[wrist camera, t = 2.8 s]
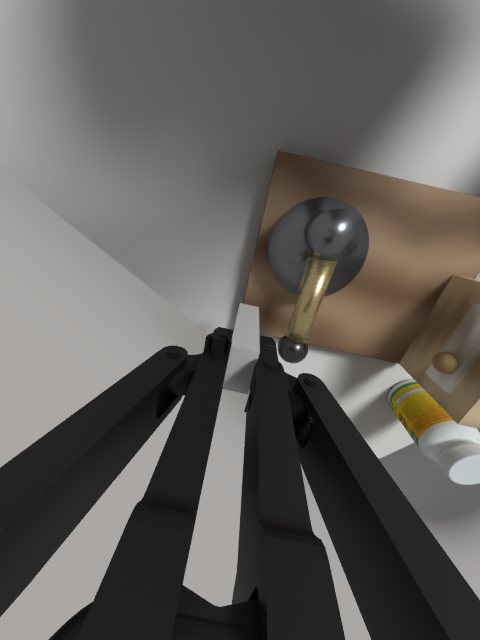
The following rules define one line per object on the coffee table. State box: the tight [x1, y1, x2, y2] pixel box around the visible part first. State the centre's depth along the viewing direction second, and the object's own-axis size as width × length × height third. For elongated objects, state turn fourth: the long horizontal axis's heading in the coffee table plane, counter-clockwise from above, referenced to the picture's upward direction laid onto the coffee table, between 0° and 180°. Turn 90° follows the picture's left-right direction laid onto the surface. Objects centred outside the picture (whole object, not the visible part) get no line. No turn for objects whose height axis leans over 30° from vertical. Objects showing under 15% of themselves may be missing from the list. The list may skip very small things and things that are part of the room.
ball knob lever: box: [268, 197, 369, 363], centre depth 19 cm, size 13×8×6 cm, turn 168°
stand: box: [243, 151, 480, 428], centre depth 18 cm, size 16×20×10 cm
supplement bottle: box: [388, 379, 480, 485], centre depth 24 cm, size 5×5×10 cm
